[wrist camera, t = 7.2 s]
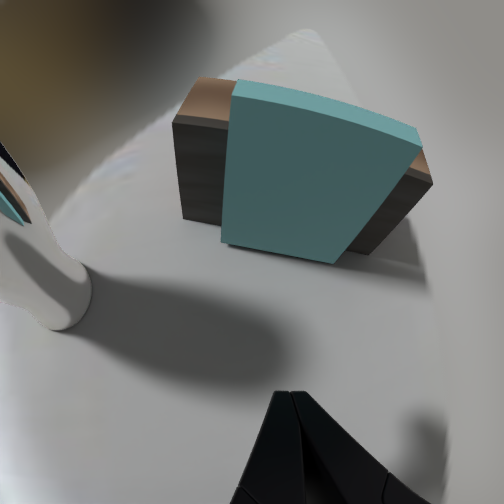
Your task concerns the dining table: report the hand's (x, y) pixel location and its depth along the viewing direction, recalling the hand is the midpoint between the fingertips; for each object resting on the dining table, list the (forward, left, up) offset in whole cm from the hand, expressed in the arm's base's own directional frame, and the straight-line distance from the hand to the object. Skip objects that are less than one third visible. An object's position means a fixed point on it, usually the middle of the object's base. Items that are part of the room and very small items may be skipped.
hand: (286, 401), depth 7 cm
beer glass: (+13, +10, -13) cm, 20 cm away
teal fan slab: (+11, -10, -12) cm, 19 cm away
